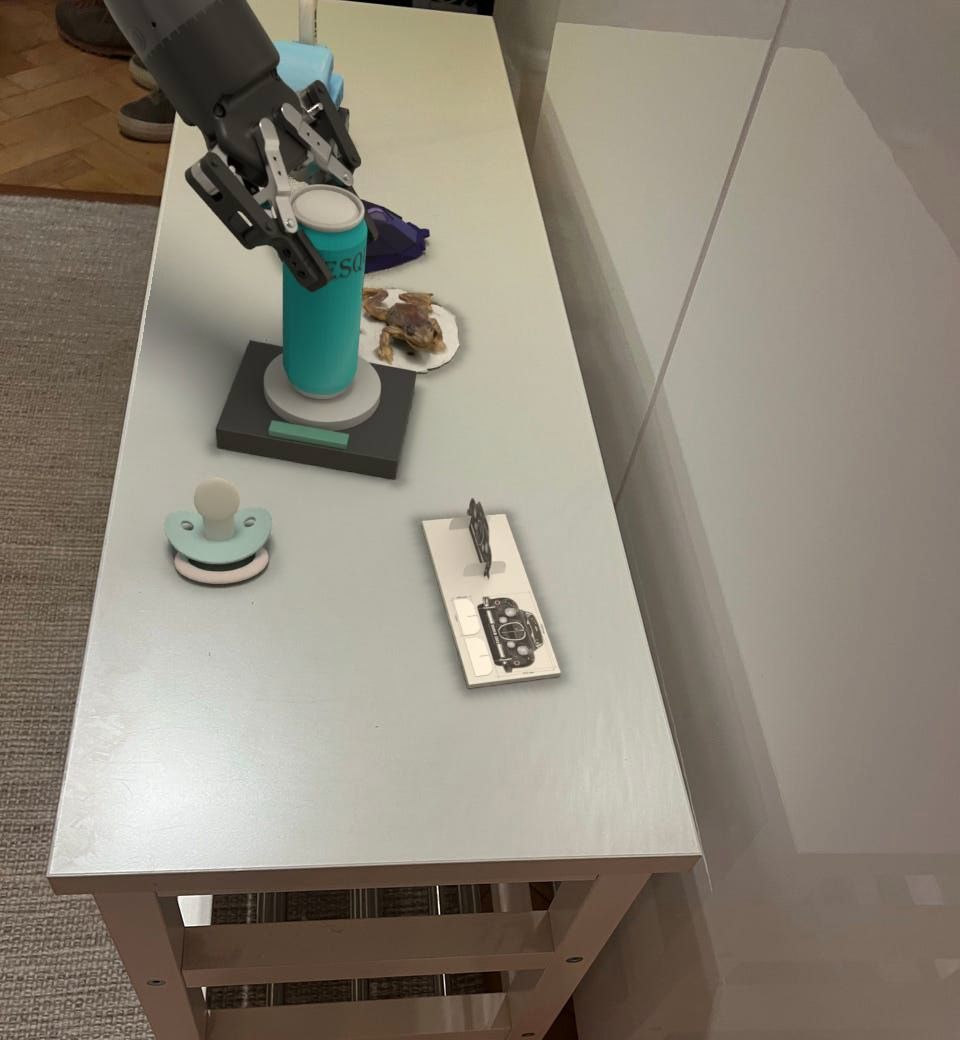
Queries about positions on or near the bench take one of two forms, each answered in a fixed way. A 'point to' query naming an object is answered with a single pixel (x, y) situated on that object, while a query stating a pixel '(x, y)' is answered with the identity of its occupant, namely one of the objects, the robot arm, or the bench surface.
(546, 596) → the bench surface
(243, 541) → the pacifier
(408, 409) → the scale
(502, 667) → the car cutout
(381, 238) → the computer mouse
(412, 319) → the frog figurine
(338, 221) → the beverage can
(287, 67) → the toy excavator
